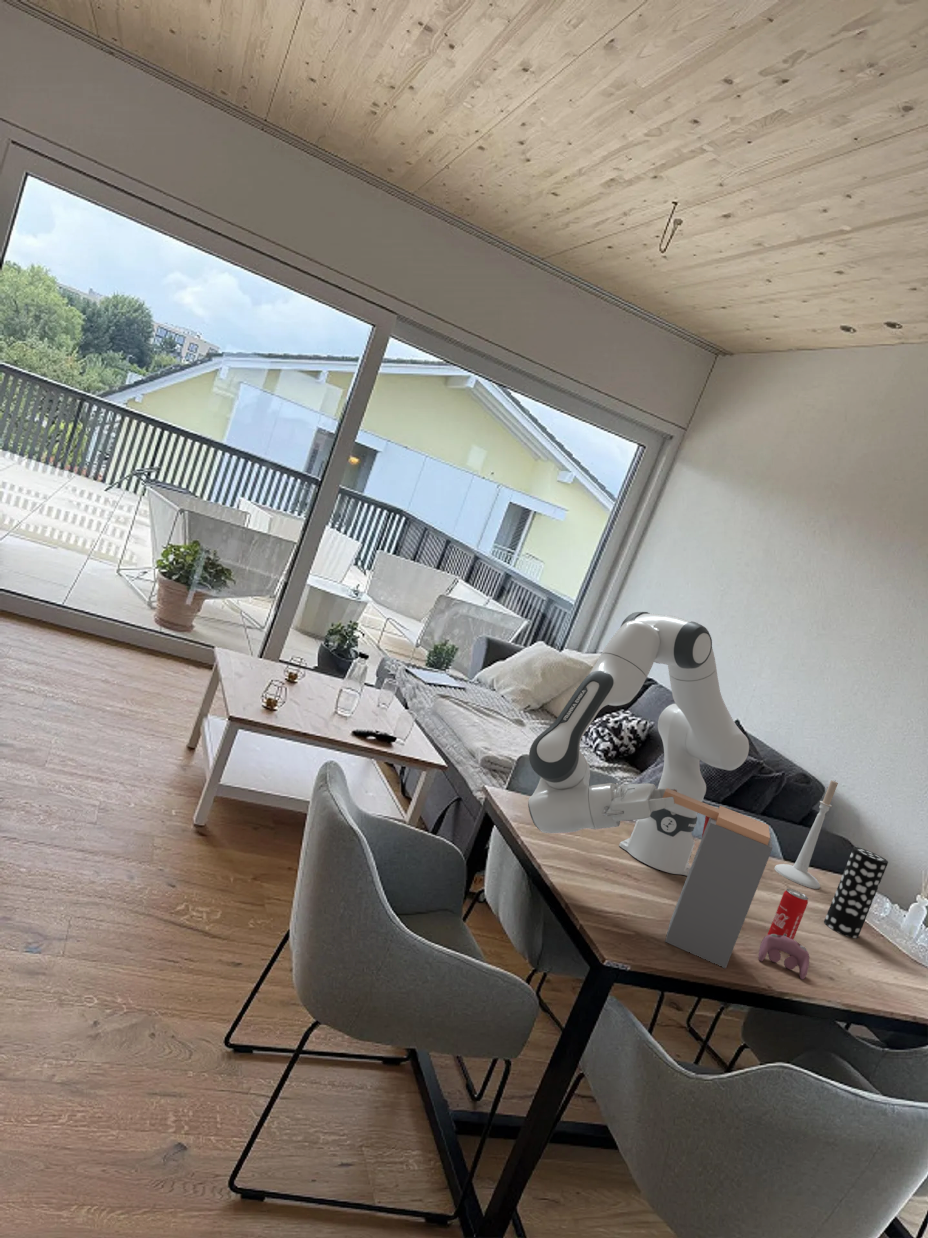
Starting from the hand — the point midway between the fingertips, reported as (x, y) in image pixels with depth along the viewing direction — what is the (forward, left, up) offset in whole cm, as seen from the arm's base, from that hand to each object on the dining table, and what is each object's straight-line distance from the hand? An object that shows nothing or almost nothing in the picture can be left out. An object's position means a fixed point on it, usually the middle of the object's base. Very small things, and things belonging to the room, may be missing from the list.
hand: (675, 797), depth 190 cm
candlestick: (-91, +39, -26) cm, 103 cm away
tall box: (0, +14, -26) cm, 29 cm away
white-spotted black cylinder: (-56, +48, -26) cm, 78 cm away
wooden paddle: (0, +8, -1) cm, 8 cm away
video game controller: (-9, +31, -26) cm, 41 cm away
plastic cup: (-77, +14, -26) cm, 83 cm away
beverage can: (-22, +31, -26) cm, 46 cm away
